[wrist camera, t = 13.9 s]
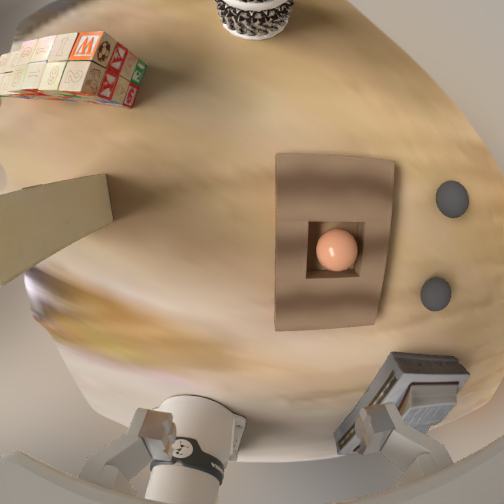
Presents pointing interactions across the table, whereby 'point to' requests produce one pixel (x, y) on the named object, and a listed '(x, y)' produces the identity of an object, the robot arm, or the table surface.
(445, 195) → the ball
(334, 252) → the terracotta ball
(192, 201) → the table surface
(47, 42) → the stack of blocks
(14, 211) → the toy refrigerator
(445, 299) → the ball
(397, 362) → the bible
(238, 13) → the black white tall cylinder
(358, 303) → the walnut board
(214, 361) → the table surface
